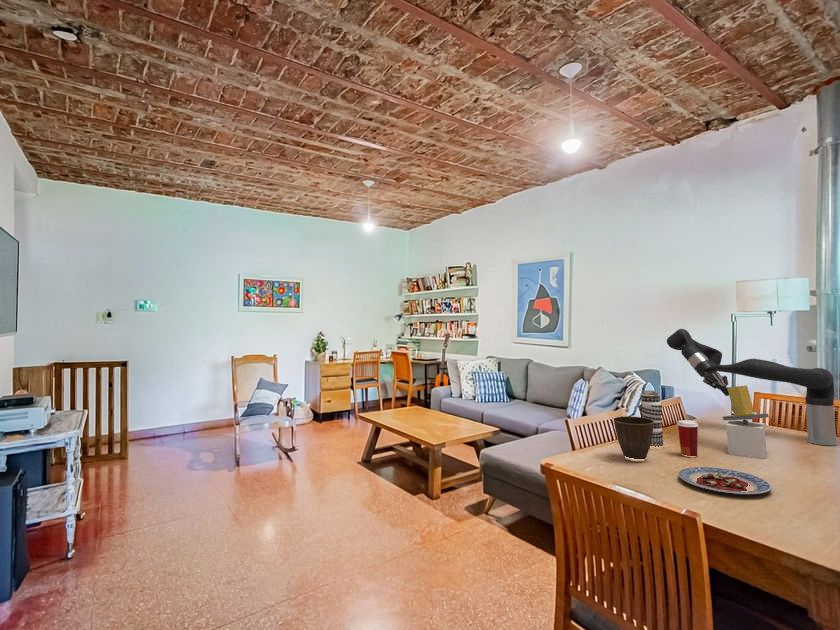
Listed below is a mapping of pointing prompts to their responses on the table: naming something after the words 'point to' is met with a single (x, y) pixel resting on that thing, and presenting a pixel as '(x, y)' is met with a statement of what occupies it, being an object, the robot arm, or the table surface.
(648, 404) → the grey striped cylinder
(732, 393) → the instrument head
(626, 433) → the plant pot
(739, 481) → the ceramic plate
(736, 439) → the stand
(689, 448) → the paper cup
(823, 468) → the table surface
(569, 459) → the table surface
